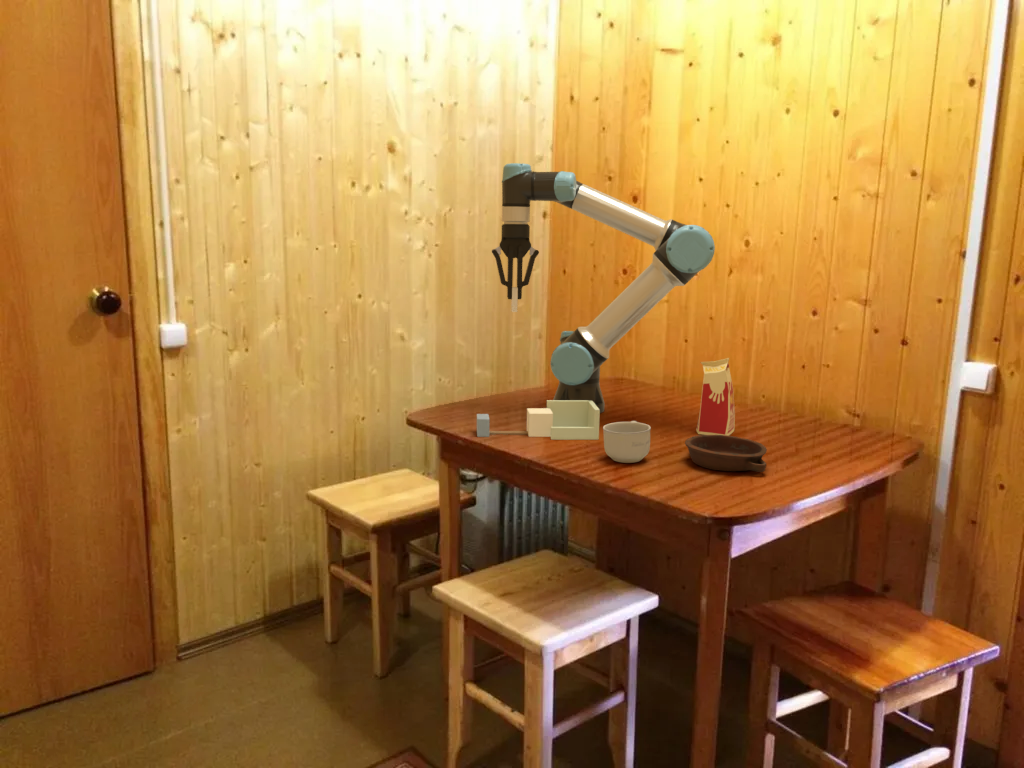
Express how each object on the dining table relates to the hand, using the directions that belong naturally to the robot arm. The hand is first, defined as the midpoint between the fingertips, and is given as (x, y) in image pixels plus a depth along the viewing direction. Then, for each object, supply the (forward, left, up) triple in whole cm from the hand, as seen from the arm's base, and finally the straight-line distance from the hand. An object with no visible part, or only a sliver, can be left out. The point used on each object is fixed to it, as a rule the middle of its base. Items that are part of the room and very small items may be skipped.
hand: (514, 311), depth 221 cm
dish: (-45, +47, -30) cm, 71 cm away
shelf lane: (-14, +20, -29) cm, 38 cm away
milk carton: (-52, +18, -30) cm, 62 cm away
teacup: (-24, +42, -30) cm, 57 cm away
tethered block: (+1, +20, -29) cm, 35 cm away
